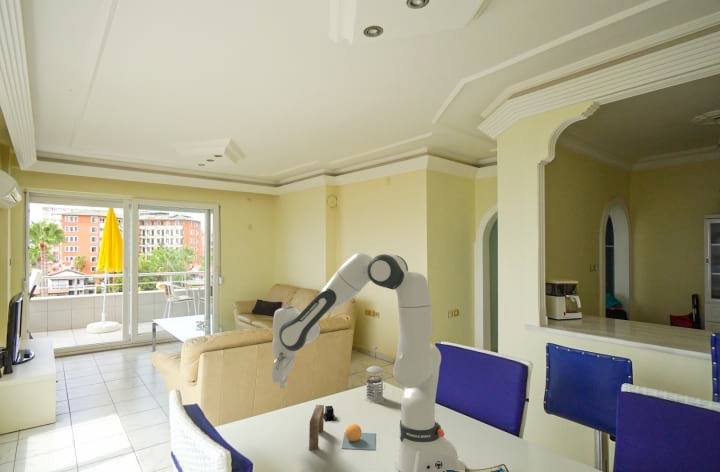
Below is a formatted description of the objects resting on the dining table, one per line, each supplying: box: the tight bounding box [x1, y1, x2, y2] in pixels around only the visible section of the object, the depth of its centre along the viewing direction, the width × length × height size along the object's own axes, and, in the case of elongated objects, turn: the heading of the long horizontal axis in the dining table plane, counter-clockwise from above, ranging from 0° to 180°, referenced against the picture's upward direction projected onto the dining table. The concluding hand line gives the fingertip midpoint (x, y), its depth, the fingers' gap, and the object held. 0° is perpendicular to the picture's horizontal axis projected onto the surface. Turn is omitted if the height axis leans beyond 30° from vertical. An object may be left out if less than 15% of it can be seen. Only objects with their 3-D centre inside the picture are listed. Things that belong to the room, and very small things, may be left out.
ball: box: [345, 423, 363, 442], centre depth 142 cm, size 6×6×6 cm
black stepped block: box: [324, 405, 337, 423], centre depth 162 cm, size 12×7×5 cm, turn 15°
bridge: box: [308, 404, 325, 451], centre depth 143 cm, size 3×15×10 cm, turn 178°
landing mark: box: [341, 431, 376, 451], centre depth 142 cm, size 12×12×1 cm
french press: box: [363, 345, 386, 404], centre depth 182 cm, size 10×12×25 cm
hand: (283, 386), depth 144 cm, fingers closed
